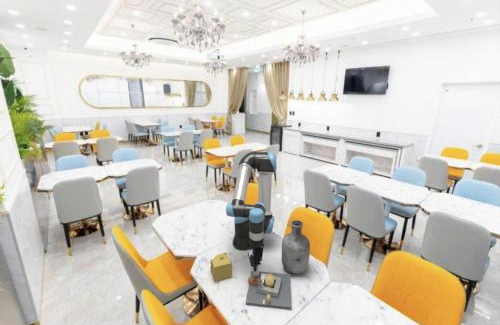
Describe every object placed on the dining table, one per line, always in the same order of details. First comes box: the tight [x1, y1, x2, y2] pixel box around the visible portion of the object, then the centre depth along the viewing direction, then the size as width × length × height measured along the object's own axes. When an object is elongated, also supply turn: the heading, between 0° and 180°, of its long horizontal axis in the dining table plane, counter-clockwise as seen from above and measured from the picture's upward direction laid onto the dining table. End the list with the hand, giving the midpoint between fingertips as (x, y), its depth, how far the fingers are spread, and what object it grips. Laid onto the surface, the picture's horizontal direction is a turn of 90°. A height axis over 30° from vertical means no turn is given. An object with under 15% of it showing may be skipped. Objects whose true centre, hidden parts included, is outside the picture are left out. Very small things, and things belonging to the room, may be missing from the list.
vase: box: [281, 219, 311, 274], centre depth 134 cm, size 16×16×30 cm
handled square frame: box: [247, 273, 282, 298], centre depth 123 cm, size 17×11×2 cm, turn 72°
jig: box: [245, 270, 292, 311], centre depth 122 cm, size 22×22×8 cm
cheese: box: [210, 252, 233, 282], centre depth 133 cm, size 10×11×10 cm
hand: (256, 274), depth 129 cm, fingers closed
